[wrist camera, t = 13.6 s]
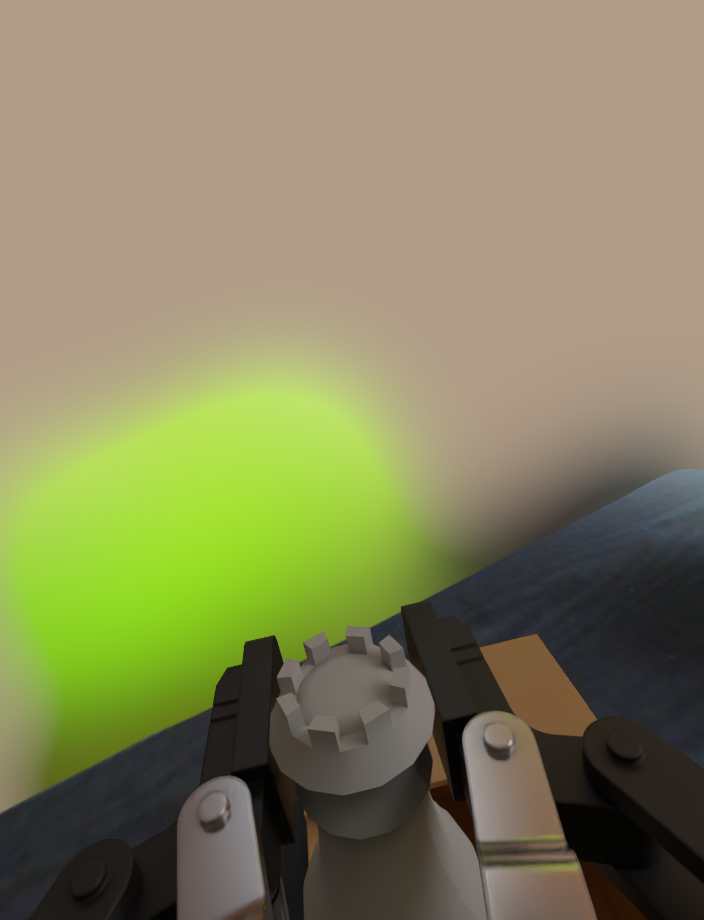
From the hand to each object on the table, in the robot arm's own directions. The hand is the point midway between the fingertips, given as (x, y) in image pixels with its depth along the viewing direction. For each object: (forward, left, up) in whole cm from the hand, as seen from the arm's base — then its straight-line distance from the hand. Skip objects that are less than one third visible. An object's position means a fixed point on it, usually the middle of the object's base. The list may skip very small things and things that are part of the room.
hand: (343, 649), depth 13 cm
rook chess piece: (0, -3, -6) cm, 7 cm away
